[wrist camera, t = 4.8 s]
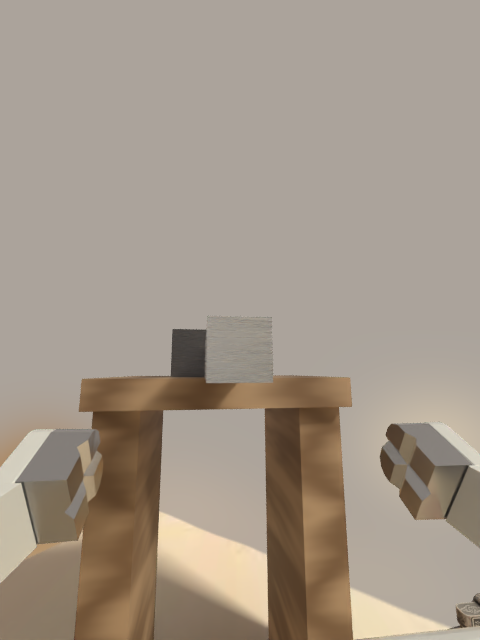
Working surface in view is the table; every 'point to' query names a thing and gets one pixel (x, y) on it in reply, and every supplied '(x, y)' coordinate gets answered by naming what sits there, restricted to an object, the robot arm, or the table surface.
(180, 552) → the table surface
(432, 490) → the robot arm
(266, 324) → the steel t handle
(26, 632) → the table surface
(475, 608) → the lighter
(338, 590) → the walnut shelf
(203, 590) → the table surface
